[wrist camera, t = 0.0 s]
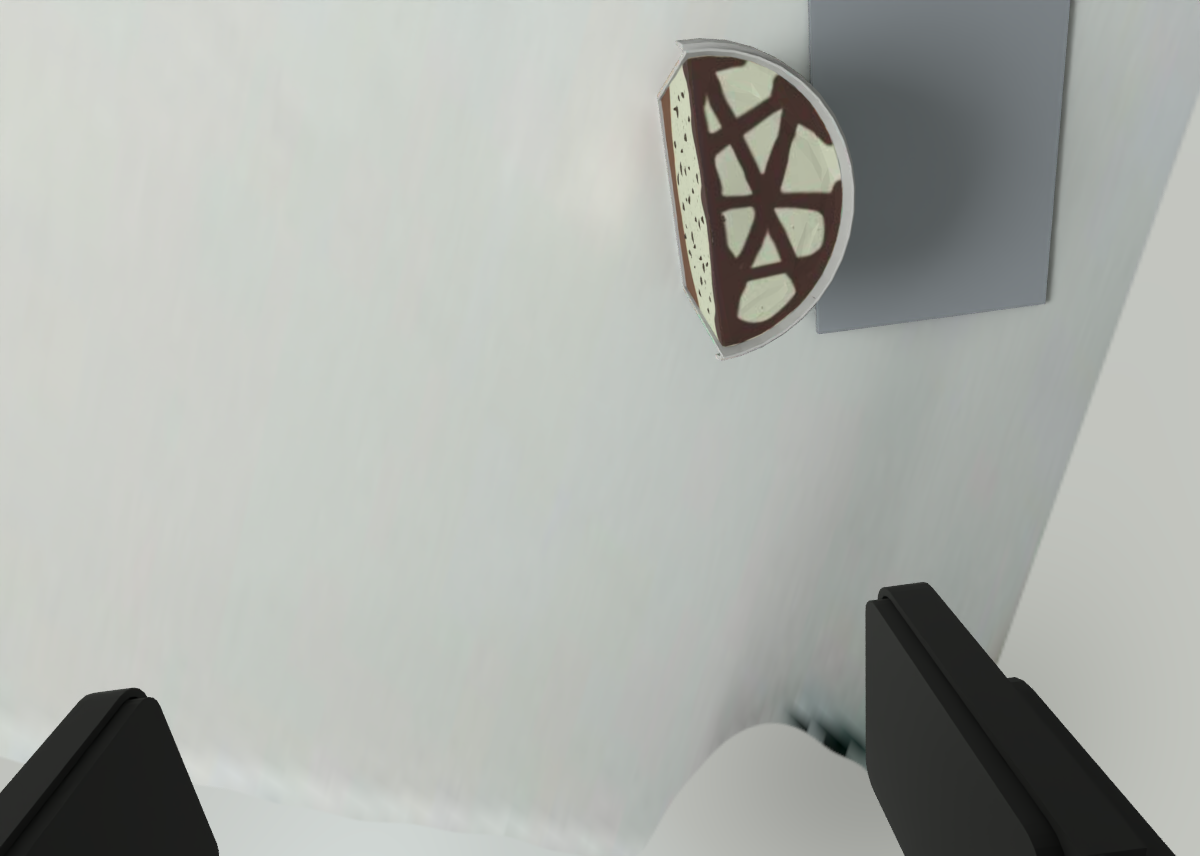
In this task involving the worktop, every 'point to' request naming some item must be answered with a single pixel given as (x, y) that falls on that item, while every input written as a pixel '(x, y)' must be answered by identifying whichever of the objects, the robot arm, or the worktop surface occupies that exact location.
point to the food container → (753, 190)
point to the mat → (942, 152)
